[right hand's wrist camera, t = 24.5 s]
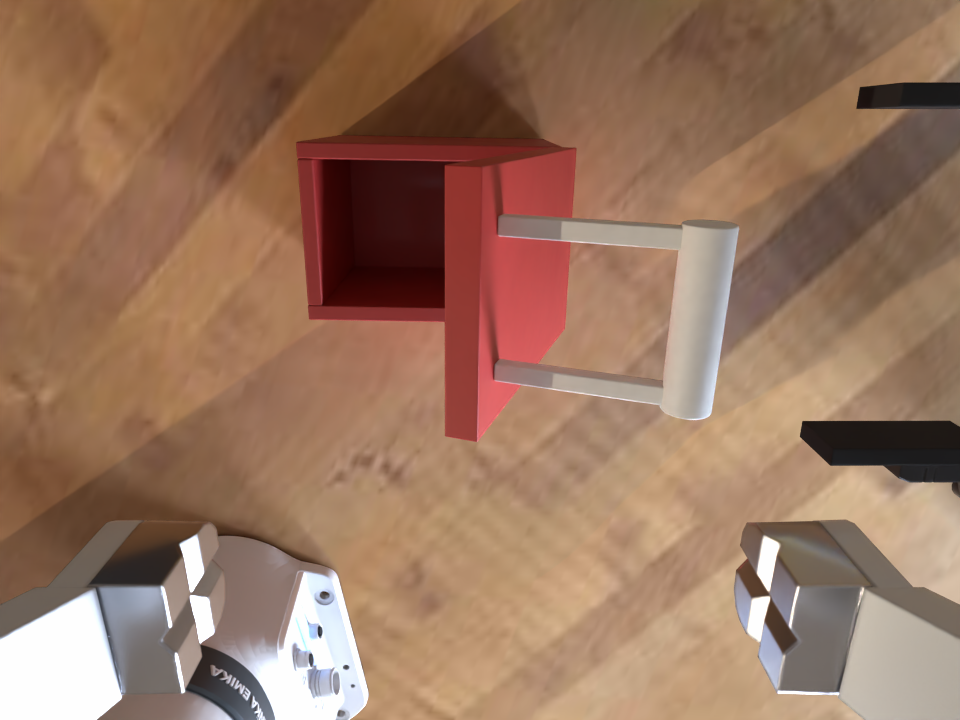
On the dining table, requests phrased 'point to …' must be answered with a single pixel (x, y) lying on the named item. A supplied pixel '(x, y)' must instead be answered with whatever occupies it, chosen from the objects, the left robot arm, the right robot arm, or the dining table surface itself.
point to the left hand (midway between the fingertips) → (843, 284)
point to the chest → (381, 221)
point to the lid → (561, 291)
